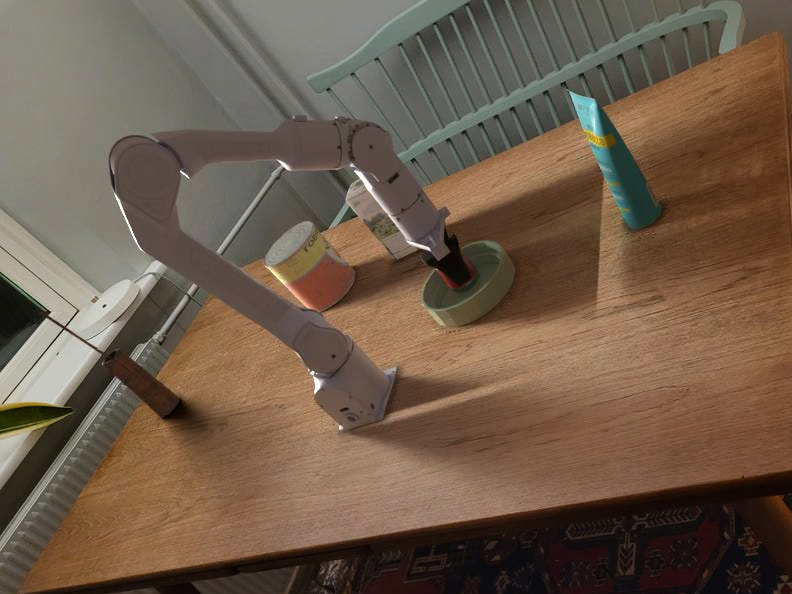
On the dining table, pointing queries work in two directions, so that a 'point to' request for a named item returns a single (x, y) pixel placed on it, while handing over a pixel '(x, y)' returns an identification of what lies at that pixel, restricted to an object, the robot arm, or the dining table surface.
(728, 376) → the dining table surface
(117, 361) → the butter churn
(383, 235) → the syrup box
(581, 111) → the tube
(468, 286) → the tin can
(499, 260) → the bowl
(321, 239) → the canned food
